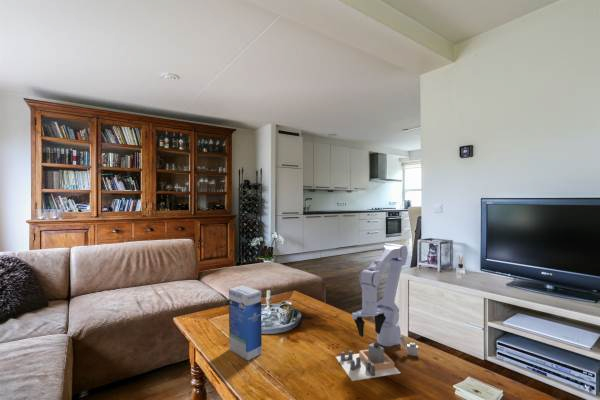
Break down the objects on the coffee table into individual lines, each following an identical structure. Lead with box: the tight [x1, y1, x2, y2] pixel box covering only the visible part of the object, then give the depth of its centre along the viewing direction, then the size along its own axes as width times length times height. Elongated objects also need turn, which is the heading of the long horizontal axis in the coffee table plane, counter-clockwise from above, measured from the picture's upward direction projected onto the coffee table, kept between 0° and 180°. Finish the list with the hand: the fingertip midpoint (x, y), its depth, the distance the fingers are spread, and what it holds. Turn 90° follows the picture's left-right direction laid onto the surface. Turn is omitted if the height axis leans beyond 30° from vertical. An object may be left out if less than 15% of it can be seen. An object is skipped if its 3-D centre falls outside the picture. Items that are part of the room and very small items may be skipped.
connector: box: [367, 342, 385, 364], centre depth 115 cm, size 3×5×7 cm, turn 35°
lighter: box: [399, 334, 419, 357], centre depth 122 cm, size 7×2×8 cm, turn 72°
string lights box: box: [228, 284, 263, 361], centre depth 124 cm, size 13×8×26 cm, turn 47°
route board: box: [335, 350, 401, 382], centre depth 114 cm, size 19×16×4 cm
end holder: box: [358, 349, 395, 371], centre depth 116 cm, size 9×11×2 cm
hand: (369, 334), depth 120 cm, fingers open, 7 cm apart
